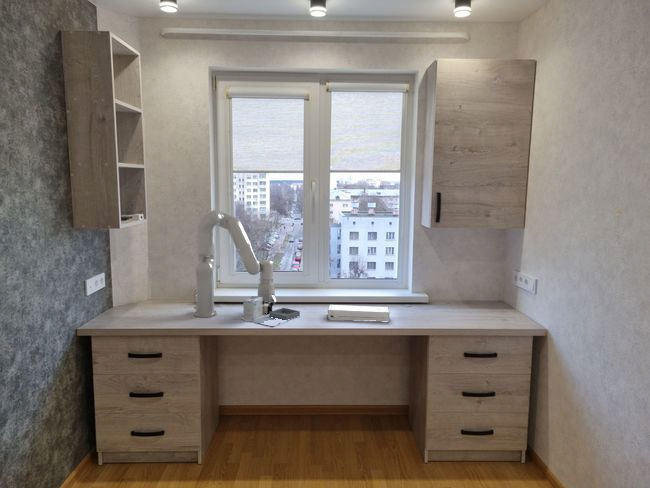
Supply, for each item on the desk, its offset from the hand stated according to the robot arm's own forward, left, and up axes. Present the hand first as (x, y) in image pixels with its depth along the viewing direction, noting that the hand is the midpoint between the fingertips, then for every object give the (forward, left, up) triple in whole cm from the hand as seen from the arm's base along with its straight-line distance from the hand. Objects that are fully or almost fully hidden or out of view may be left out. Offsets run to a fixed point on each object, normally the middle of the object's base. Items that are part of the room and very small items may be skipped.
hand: (266, 311), depth 258 cm
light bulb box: (+2, -13, 0) cm, 13 cm away
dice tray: (+14, 0, 0) cm, 14 cm away
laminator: (+49, +23, -1) cm, 54 cm away
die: (0, 0, 0) cm, 0 cm away
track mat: (+10, -13, 0) cm, 16 cm away
